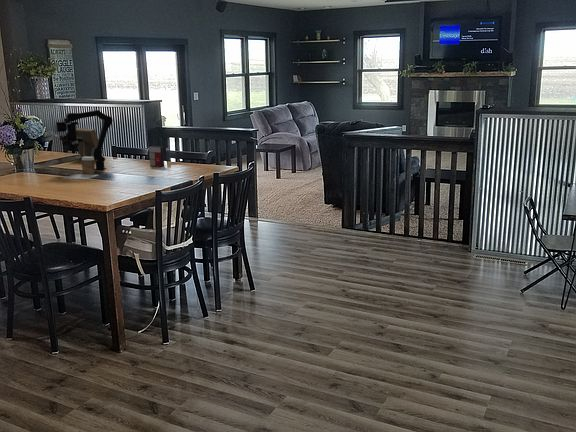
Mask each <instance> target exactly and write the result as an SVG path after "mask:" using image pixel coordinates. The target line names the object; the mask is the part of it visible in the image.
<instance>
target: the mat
mask: <svg viewBox="0 0 576 432" xmlns="http://www.w3.org/2000/svg"><path fill="white" fill-rule="evenodd" d="M98 176H100V175H99V174H94V175H88V174H83V173H82V174H80V173H78V174H77V173H74V174H71V175H68V176H64V177H61V179H62V180H64V179H65V180H85V181H87V180H89V179H93V178H95V177H98Z"/></svg>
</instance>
